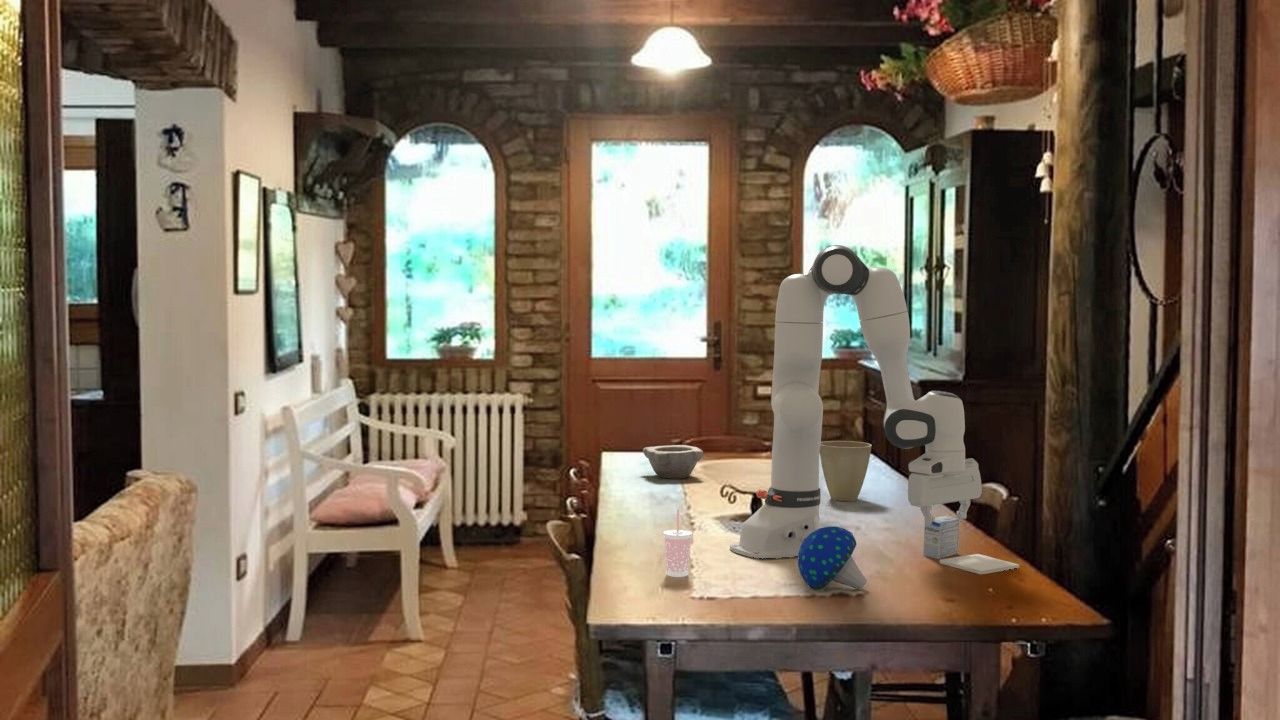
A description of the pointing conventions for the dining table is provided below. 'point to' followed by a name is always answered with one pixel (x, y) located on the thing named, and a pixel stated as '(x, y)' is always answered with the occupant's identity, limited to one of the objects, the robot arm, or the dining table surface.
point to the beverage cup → (677, 551)
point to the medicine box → (941, 538)
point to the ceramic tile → (979, 564)
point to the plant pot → (844, 467)
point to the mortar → (673, 460)
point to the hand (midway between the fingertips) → (945, 521)
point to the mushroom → (829, 559)
